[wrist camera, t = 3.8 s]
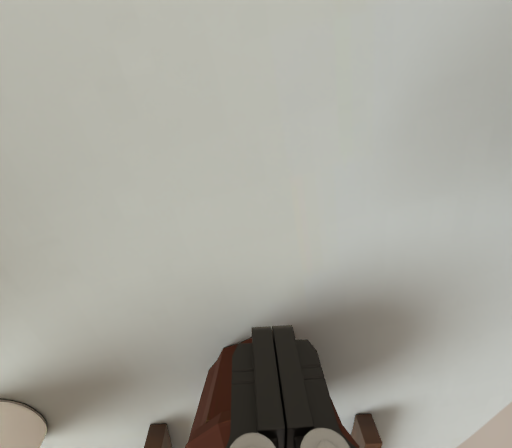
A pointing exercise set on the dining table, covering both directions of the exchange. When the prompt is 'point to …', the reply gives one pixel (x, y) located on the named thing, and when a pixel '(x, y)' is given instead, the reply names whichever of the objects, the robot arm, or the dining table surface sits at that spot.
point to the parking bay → (362, 433)
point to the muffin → (223, 406)
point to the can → (20, 426)
